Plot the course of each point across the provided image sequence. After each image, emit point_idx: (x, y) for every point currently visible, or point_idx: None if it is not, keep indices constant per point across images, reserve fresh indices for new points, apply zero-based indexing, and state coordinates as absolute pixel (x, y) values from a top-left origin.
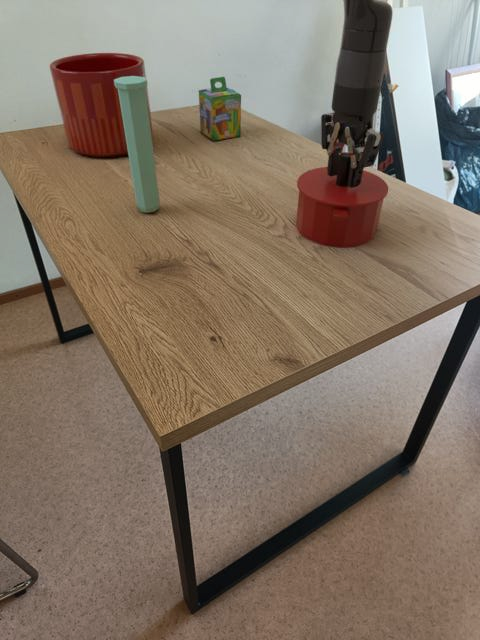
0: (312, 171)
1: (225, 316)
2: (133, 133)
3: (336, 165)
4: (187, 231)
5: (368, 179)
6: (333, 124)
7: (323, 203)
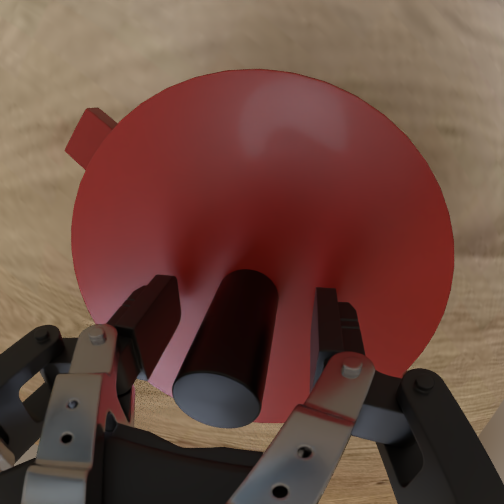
0: (96, 303)
1: (363, 473)
2: None
3: (160, 319)
4: (153, 429)
5: (273, 147)
6: (3, 457)
7: None
